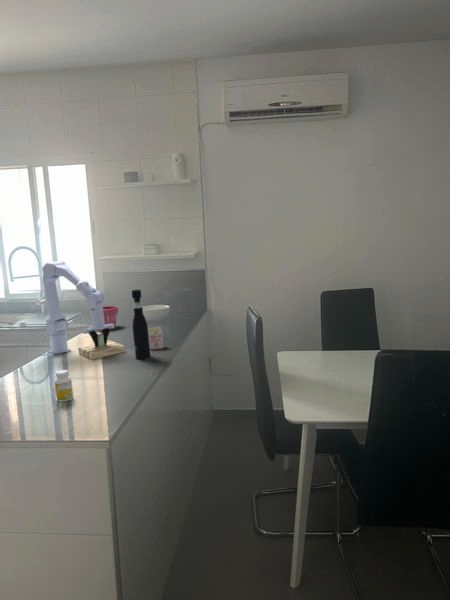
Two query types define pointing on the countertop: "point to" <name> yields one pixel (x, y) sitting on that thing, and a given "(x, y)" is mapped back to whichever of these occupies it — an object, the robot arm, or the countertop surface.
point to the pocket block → (101, 350)
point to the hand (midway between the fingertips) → (100, 345)
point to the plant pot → (110, 315)
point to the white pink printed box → (155, 338)
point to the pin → (100, 341)
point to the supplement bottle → (63, 386)
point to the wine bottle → (140, 329)
